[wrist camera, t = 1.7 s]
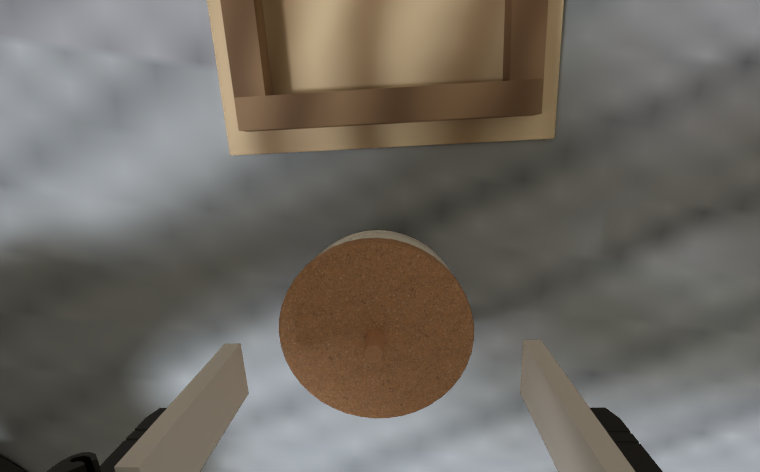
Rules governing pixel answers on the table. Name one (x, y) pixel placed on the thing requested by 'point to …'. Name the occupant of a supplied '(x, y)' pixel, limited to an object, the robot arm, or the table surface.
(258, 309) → the table surface
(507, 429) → the table surface
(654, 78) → the table surface
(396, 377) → the lidded jar
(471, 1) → the wooden square tray
